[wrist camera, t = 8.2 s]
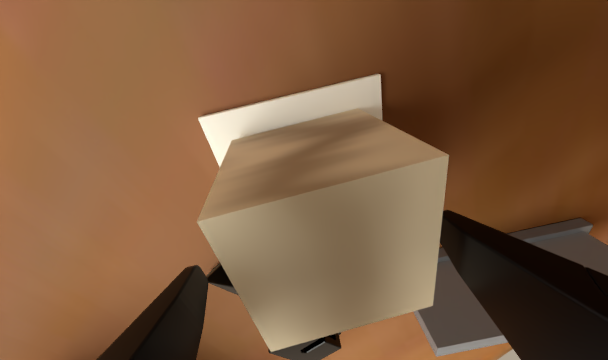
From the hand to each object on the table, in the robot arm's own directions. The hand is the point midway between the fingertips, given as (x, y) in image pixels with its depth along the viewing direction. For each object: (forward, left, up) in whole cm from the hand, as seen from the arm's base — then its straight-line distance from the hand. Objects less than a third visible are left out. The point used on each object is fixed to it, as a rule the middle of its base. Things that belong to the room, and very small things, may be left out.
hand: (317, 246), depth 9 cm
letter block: (0, 0, -5) cm, 5 cm away
